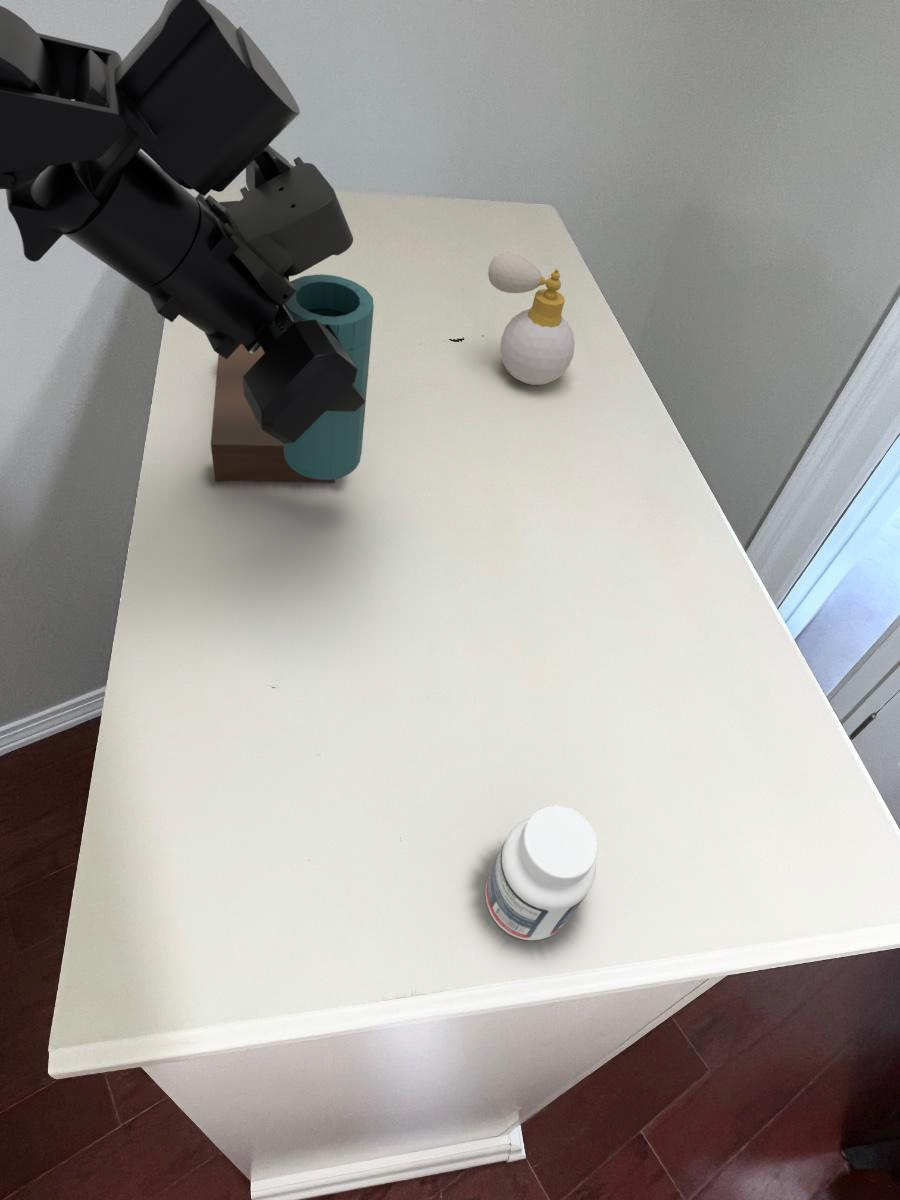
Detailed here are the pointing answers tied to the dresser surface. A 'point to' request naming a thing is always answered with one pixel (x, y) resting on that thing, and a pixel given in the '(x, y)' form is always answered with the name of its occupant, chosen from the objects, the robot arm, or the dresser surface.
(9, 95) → the robot arm
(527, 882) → the pill bottle
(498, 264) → the perfume bottle
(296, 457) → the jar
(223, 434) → the brown wooden pedestal
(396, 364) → the dresser surface
